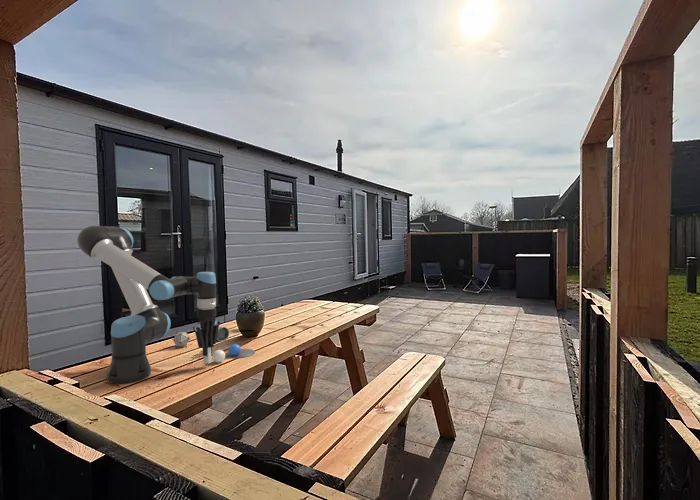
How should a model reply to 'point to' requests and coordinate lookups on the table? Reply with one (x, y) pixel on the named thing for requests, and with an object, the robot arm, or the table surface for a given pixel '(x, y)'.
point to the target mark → (241, 354)
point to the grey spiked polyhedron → (181, 339)
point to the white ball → (218, 356)
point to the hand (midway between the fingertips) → (207, 362)
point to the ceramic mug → (222, 333)
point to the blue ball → (234, 350)
